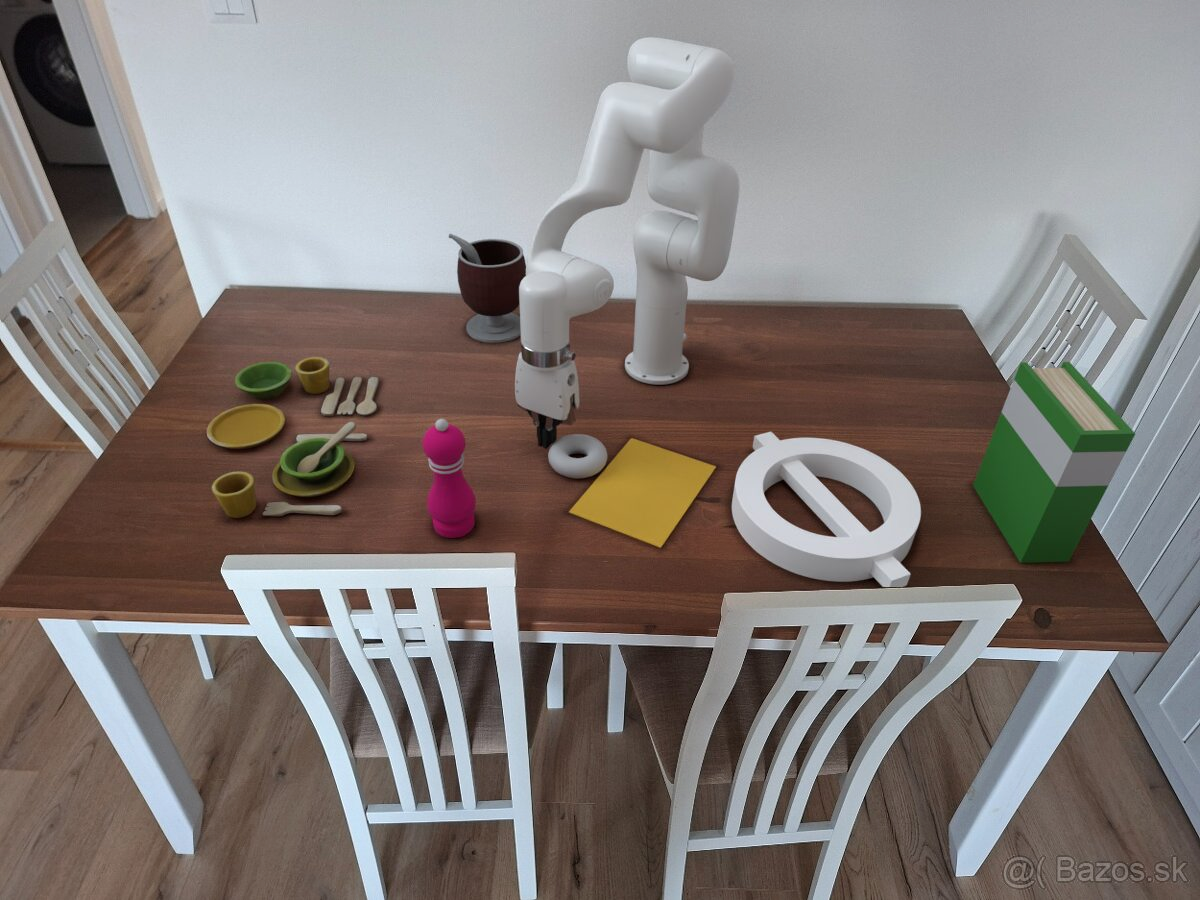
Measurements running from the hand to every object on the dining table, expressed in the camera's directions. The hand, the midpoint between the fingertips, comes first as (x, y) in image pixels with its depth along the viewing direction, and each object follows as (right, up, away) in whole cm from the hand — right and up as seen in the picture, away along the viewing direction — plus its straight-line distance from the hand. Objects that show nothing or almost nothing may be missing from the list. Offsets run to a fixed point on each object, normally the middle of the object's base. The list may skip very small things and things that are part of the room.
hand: (546, 443), depth 141 cm
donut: (+5, -4, -1) cm, 6 cm away
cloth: (+16, -8, -6) cm, 19 cm away
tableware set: (-45, 0, +2) cm, 45 cm away
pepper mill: (-13, -13, -13) cm, 23 cm away
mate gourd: (-14, +25, +34) cm, 44 cm away
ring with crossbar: (+44, -12, -10) cm, 47 cm away
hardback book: (+75, -13, -11) cm, 77 cm away
